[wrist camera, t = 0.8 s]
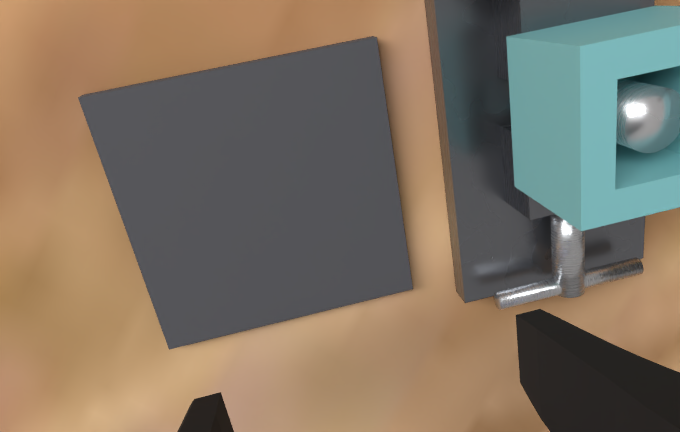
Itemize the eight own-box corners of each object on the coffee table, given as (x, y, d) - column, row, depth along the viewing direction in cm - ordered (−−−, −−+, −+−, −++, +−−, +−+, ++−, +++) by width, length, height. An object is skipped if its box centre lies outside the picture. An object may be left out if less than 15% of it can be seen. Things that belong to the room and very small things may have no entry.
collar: (648, 155, 19) (744, 191, 16) (514, 186, 19) (581, 231, 15) (654, 5, 17) (766, 6, 14) (506, 36, 17) (580, 46, 13)
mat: (408, 282, 23) (412, 288, 23) (170, 340, 22) (169, 349, 22) (372, 36, 19) (376, 37, 19) (82, 94, 18) (78, 97, 18)
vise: (627, 248, 24) (754, 328, 18) (456, 291, 24) (529, 389, 18) (641, -179, 18) (838, -267, 12) (409, -139, 17) (498, -211, 12)
